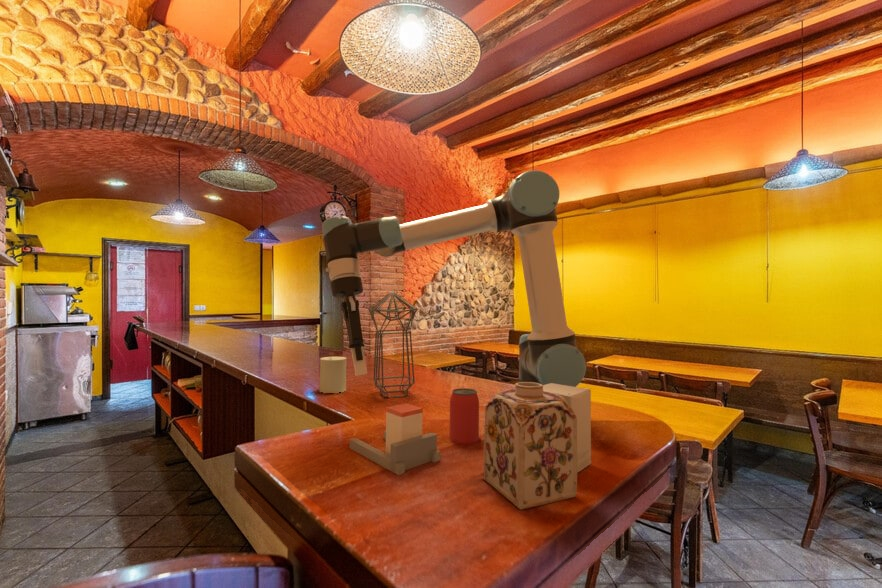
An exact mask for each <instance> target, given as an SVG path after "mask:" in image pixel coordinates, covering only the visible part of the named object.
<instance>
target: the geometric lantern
mask: <svg viewBox="0 0 882 588" xmlns="http://www.w3.org/2000/svg"><path fill="white" fill-rule="evenodd" d="M389 298H390V299H389ZM388 299H389V302H388V306H387V308H385V309H384V308H381V307H382V306H383V305H384V304H385V303H386V302H387V301H388ZM397 300H398V302H400V304H401V305H402V307H398V303H397ZM392 304H394V308H395V309H394V308H393V309H392ZM367 310H368V312H369V315H370V317H371V320H372V321H373V324H374V327H375V329H376V330H375V331H374V332H375V335H374V337H375V339H374V341H375V342H374V358H373V359H374V360H373V363H374V364H373V376H372V377H373V379H372V380H373V384H374V386H375V388H377V389H378V390H379V393H380V395H381V394H382V395H383V396H382V395H381V396H382V397H383V398H384V397H389V395H388V394H389V393H396V392H400V391H404V392H405V393H406V394H405V393H404V392H403V393H404V394H405V396H407V397H408V396H409V389H410V388H411V387H412V386H413V385H414V384H415V383H416V380H415V368H414V367H415V366H414V356H413V354H414V353H413V341H412V325H413V321H414V319H415V316H416V313H417V311H419V310H420V309H419V308H418V307H416V306H415V305H414V304H412V303H410V302H409V301H408V300H406V299H405V298H403V297H402V296H400V295H399V294H397V293H396V292H389V293H388V294H386V295H385V296H384V297H382V298H381V299H379V300H378V301H377V302H376V303H374V304H373V305H371V306H370V307H369V308H367ZM375 312H376V313H378V314H380V315H381V316H382V317H383V318H384V320H383V322H382V324H381V327H380V329H378V326H377V322H376V319H375ZM382 312H383V313H382ZM385 312H386V314H384V313H385ZM405 312H406V313H405ZM393 313H394V316H391V314H393ZM401 313H405V314H403V315H401ZM400 315H401V316H400ZM407 315H410V317H409V321H408V323H407V326H406V327H405V325H404V324H403V322H402V320H401V319H403V318H404V317H406V316H407ZM387 320H388V322H387ZM394 321H397V323H398V324H399V325H400V327H401V329H387V327H388V325H389V324H390V323H391V322H394ZM386 322H387V324H386V325H385V323H386ZM384 325H385V327H384ZM409 326H410V329H409ZM383 327H384V328H383ZM408 329H409V330H408ZM395 331H396V332H395ZM397 331H400V332H397ZM396 334H397V335H400V334H401V335H402V375H400V376H399V375H398V376H386V377H385V376H384V355H383V354H384V351H383V335H396ZM408 334H409V337H408ZM405 346H406V347H405ZM409 346H410V351H409ZM405 348H406V362H407V373H408V376H406V375H405ZM410 356H411V357H410ZM410 358H411V359H410ZM410 360H411V365H410ZM380 369H381V374H380ZM411 372H412V377H411ZM380 375H381V376H380ZM404 378H405V379H407V380H406V381H405V382H404V383H403V380H404ZM389 379H390V380H391V379H401V382H400V384H386V385H385V383H384V380H389ZM407 382H408V383H407ZM391 387H392V388H393V387H399V390H387V389H386V388H391ZM401 388H402V390H401ZM385 391H386V392H385ZM381 392H384V393H381ZM401 396H402V395H397V396H395V395H394V396H392V397H394V398H402V397H401Z"/></svg>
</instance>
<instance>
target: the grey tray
mask: <svg viewBox="0 0 882 588" xmlns="http://www.w3.org/2000/svg"><path fill="white" fill-rule="evenodd" d="M383 440H385V441H386V429H385V430H383ZM349 449H350V450H353V451H355V452H356V453H358V454H359V455H362V456H363V457H364V458H367V459H368V460H370V461H371V462H374V463H376V464H377V465H379V466H380V467H383V468H384V469H386V470H388V471H391V472H392V473H394V474H395V475H396V476H401V475H403V474H405V473H406V471H407V470H410V469H412V468H415V467H419V466H421V465H424V464H427V463H429V462H432V463H438V462H440V461H441V450H438V434H437V433H434V432H429V433H425V434H422V435H421V436H417V437H414V438H410V439H407V440H403V441H400V442H396V443H393V444H391V450H390V455H388V454H386V452H384V451H382V450H381V449H378V448H377V447H375V446H372V445H370V444H368V443H367V442H364V441H362V440H361V439H359V438H357V437H354V438H349Z"/></svg>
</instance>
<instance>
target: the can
mask: <svg viewBox="0 0 882 588" xmlns="http://www.w3.org/2000/svg"><path fill="white" fill-rule="evenodd" d="M319 360H320V361H319V362H320V363H319V366H320V367H319V368H320V369H319V371H320V373H319V376H320V377H319V391H318V392H319V393H321V392H323V393H322V394H326V393H334V394H340V393H339V392H341V393H344V391H345V392H347V356H334V355H333V356H325V357H320V358H319Z"/></svg>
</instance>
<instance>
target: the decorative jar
mask: <svg viewBox="0 0 882 588" xmlns="http://www.w3.org/2000/svg"><path fill="white" fill-rule="evenodd" d="M514 385H515V386H514V387H515V388H514V389H505V390H504V389H503V390H502V391H500V392H498V393H496V395H494V396H493V397H492V398H491V399H489V401H487V404H486V405H485V407H484V425H483V426H484V434H483V435H484V436H483V438H484V439H483V475H484V476H483V477H484V478H483V479H484V480H485V482H487V483H488V484H489V485H490V486H492V487H493V488H494V489H495V490H496V491H498V492H499V493H500V494H501V495H502V496H504V498H506V499H507V500H508V501H509V502H511V504H513V505H514V506H516V508H517V509H519V510H526V509H530V508H535V507H539V506H543V505H548V504H551V503H555V502H560V501H565V500H568V499H573V498H575V497H576V496H577V493H578V492H577V489H578V473H577V416H576V414H575V413H574V411H573V410H572V408H571V407H570V406H569V405H568V403H567V402H566V400H565V399H564V398H563V397H562V396H559V395H556V394H554V393H550V392H545V391H543V385H542V384H539V383H534V382H519V381H518V382H515V384H514Z"/></svg>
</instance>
